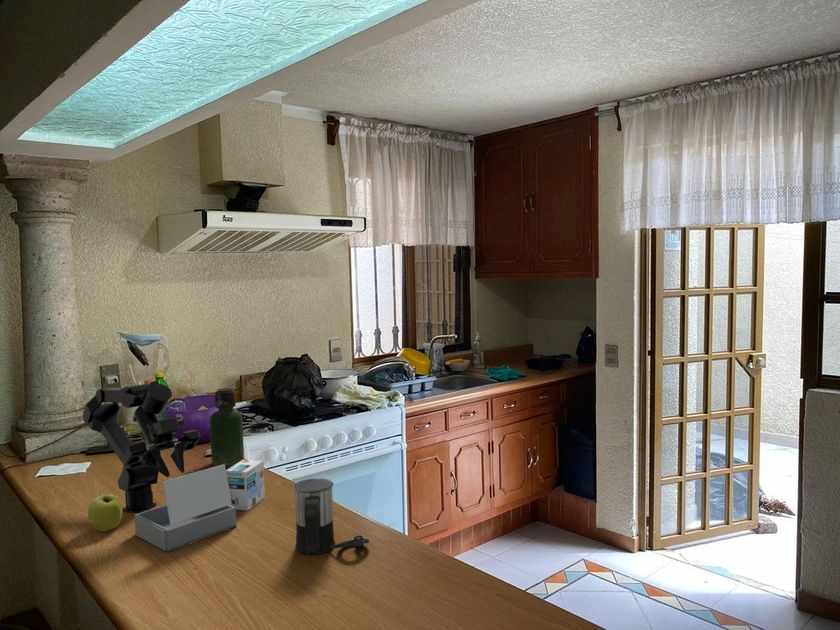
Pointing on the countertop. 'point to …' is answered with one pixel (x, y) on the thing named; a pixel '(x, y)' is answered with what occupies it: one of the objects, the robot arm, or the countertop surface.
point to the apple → (105, 512)
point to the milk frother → (317, 518)
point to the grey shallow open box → (182, 526)
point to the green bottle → (226, 430)
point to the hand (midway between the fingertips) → (175, 474)
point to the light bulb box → (246, 484)
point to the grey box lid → (197, 493)
